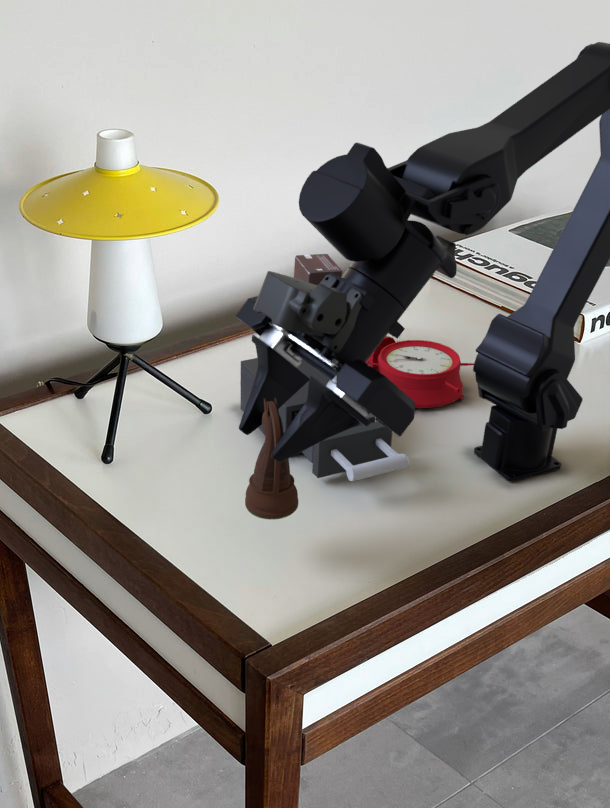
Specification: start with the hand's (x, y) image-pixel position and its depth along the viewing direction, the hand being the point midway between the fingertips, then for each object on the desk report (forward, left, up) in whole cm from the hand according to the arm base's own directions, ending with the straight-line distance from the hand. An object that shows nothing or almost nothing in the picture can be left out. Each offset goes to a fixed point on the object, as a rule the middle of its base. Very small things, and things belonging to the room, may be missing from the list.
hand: (258, 445), depth 83 cm
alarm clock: (-29, -24, -12) cm, 40 cm away
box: (-23, -35, -12) cm, 44 cm away
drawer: (-15, -12, -11) cm, 22 cm away
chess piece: (-1, 0, -7) cm, 7 cm away
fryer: (-15, -21, -12) cm, 28 cm away
